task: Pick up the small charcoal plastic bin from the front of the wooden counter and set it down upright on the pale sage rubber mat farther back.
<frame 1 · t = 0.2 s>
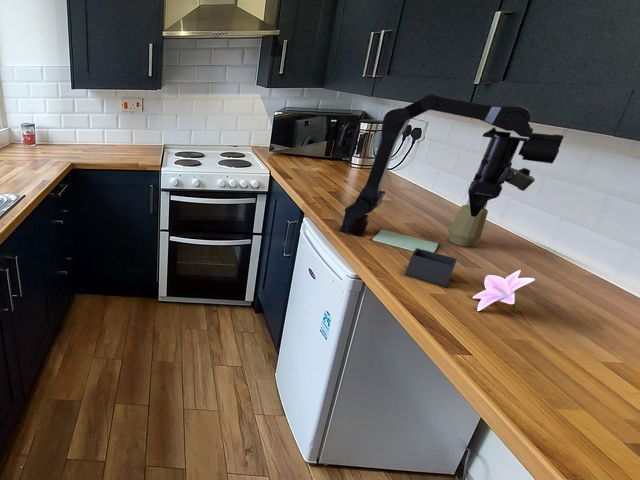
hand: (474, 212, 111), 15 cm above the worktop, tool pointing down, fingers open, 9 cm apart
lily: (492, 307, 93), on the worktop
mat: (405, 242, 127), on the worktop
bin: (426, 277, 106), on the worktop
squeeze bottle: (460, 243, 128), on the worktop
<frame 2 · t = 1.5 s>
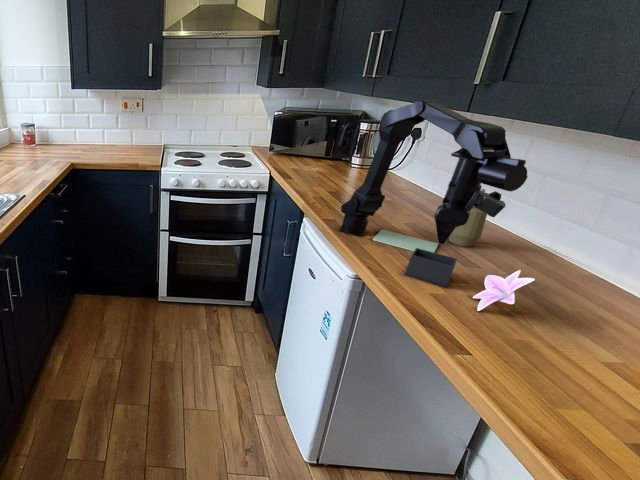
hand: (443, 238, 102), 11 cm above the worktop, tool pointing down, fingers open, 9 cm apart
nothing on the worktop moved.
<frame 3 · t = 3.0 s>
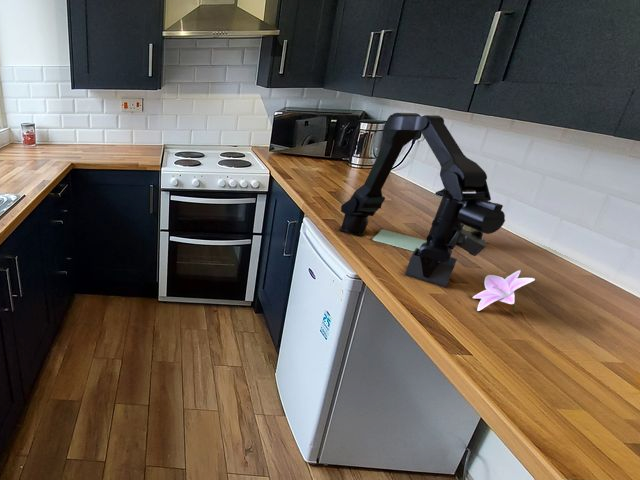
hand: (428, 273, 106), 1 cm above the worktop, tool pointing down, fingers closed on bin, 6 cm apart
bin: (426, 277, 106), on the worktop, touching gripper
everything else where it was.
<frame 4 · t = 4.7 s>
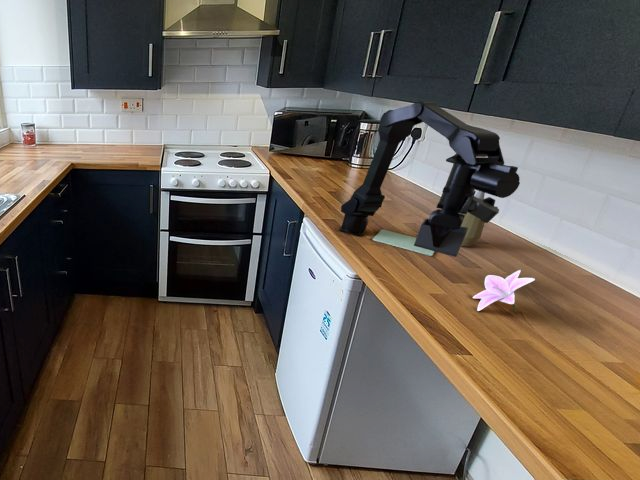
hand: (437, 243, 103), 10 cm above the worktop, tool pointing down, fingers closed on bin, 6 cm apart
bin: (436, 247, 103), point 8 cm above the worktop, touching gripper
everything else where it was.
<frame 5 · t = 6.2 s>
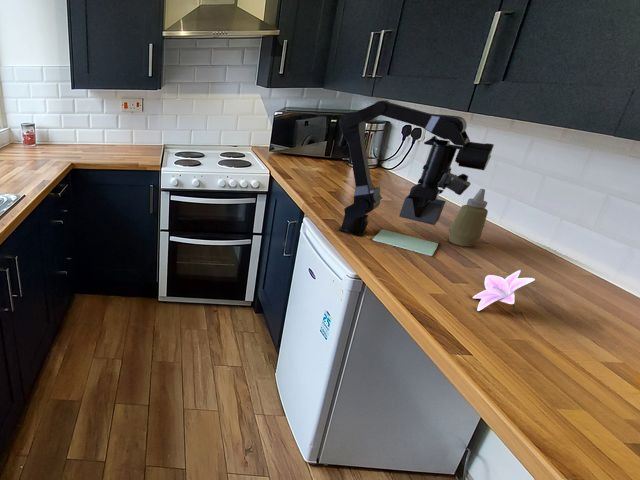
hand: (419, 214, 119), 11 cm above the worktop, tool pointing down, fingers closed on bin, 6 cm apart
bin: (418, 218, 120), point 10 cm above the worktop, touching gripper
everything else where it was.
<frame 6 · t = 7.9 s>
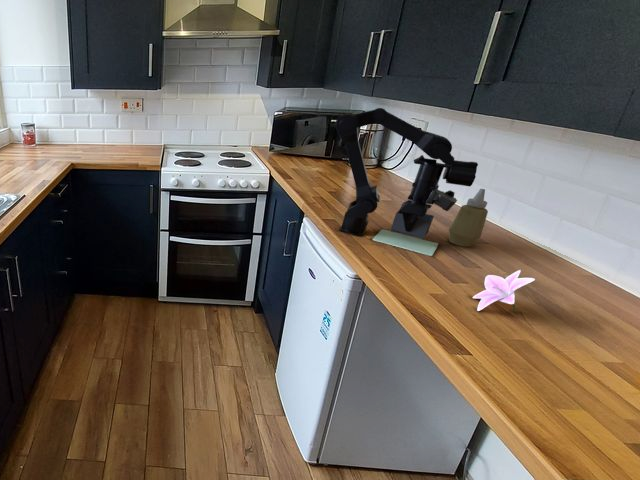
hand: (409, 228, 125), 5 cm above the worktop, tool pointing down, fingers closed on bin, 6 cm apart
bin: (408, 232, 126), point 4 cm above the worktop, touching gripper
everything else where it was.
when the fingers open (2 cm above the worktop, at t = 9.3 s): bin stays where it is, resting on mat.
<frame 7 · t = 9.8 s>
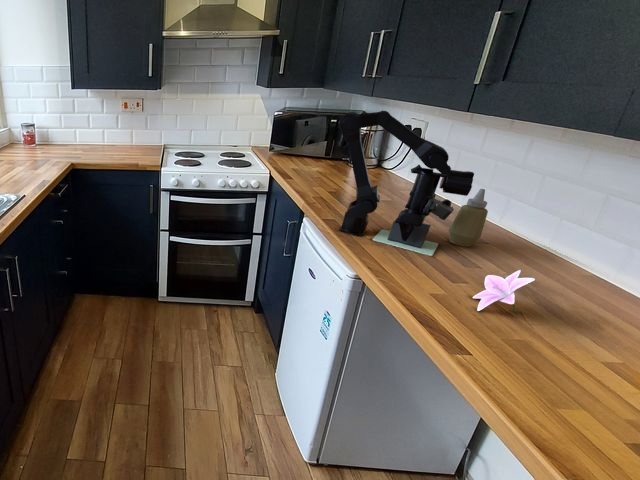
hand: (407, 236, 126), 2 cm above the worktop, tool pointing down, fingers open, 9 cm apart
bin: (405, 241, 127), resting on mat
everything else where it was.
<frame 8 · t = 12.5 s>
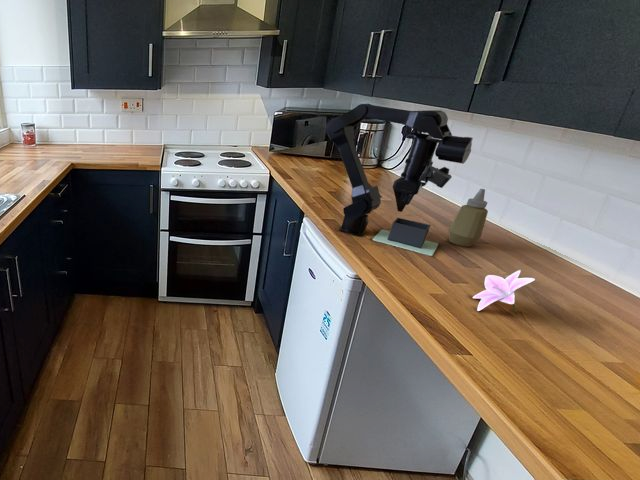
hand: (403, 207, 121), 12 cm above the worktop, tool pointing down, fingers open, 9 cm apart
nothing on the worktop moved.
at the end: bin inside the target area on the mat (0.0 cm from its centre), point 0.4 cm above the mat's base; bin tilted 0°; the gripper is holding nothing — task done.
